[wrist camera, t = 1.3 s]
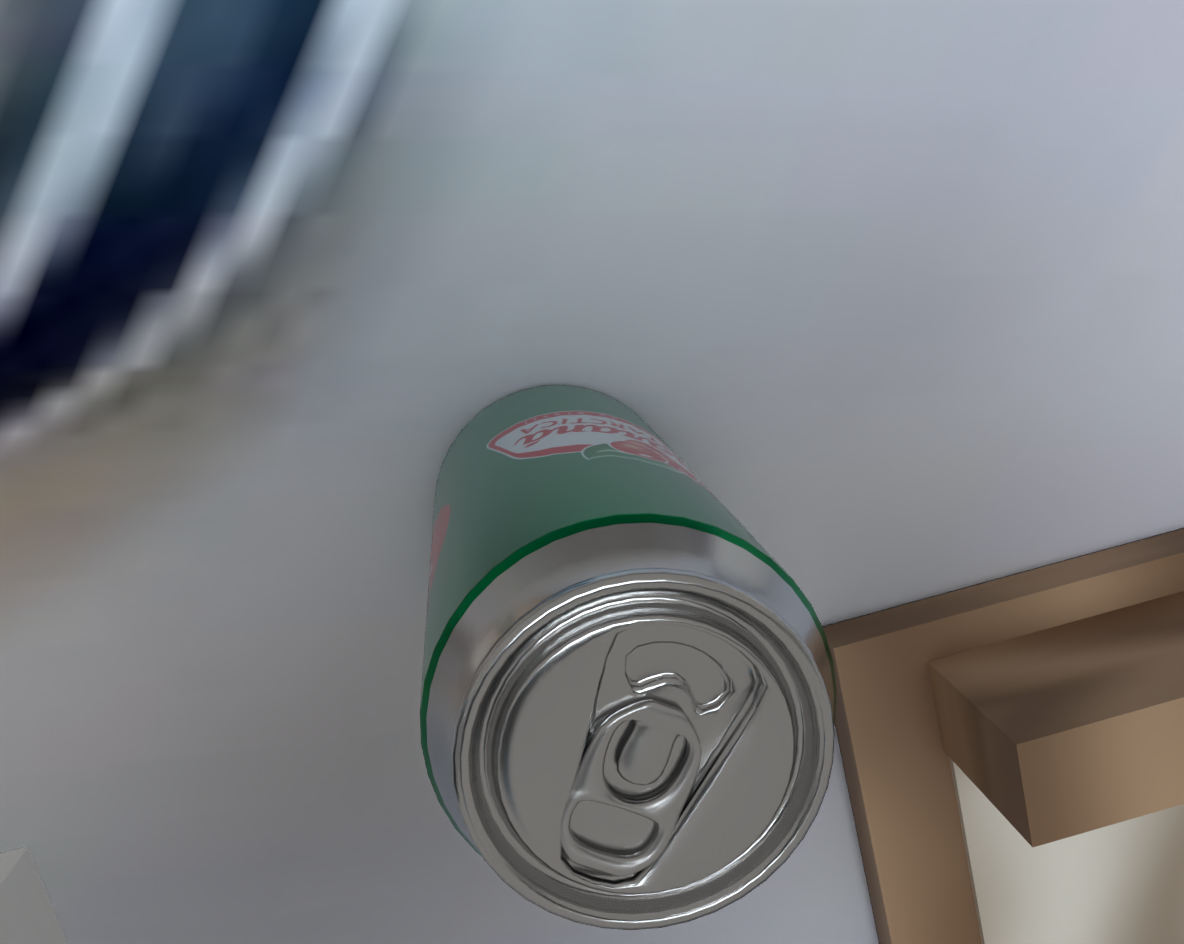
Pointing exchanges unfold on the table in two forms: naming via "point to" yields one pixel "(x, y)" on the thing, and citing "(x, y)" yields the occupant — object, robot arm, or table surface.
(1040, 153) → the table surface
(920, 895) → the cradle
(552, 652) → the soda can
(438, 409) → the table surface
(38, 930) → the robot arm
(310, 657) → the table surface
